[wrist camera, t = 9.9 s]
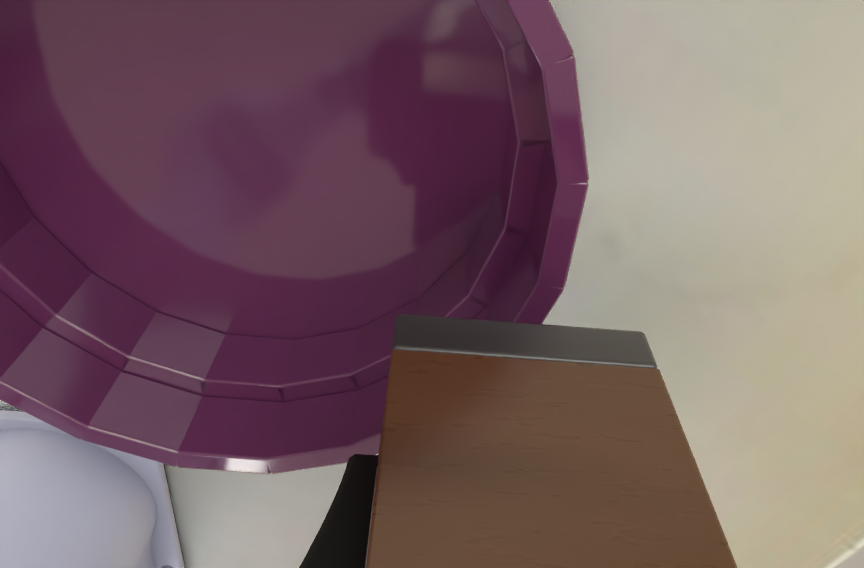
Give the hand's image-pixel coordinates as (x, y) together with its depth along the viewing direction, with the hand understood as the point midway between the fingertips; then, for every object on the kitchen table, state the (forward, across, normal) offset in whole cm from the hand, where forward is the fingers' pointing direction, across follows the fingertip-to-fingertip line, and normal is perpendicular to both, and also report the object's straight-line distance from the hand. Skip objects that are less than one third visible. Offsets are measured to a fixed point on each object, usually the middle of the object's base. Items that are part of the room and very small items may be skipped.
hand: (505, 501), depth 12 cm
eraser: (+1, 0, 0) cm, 1 cm away
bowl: (+8, +6, -4) cm, 11 cm away
